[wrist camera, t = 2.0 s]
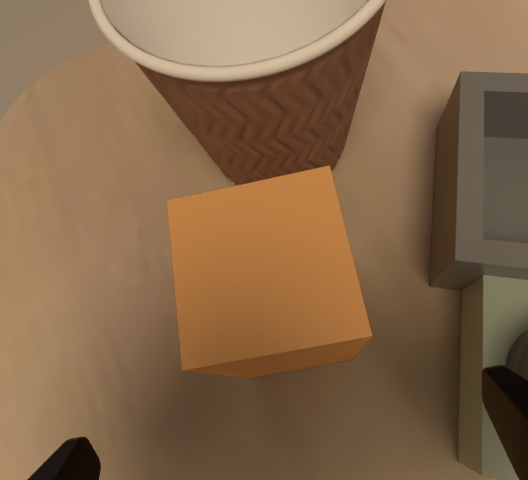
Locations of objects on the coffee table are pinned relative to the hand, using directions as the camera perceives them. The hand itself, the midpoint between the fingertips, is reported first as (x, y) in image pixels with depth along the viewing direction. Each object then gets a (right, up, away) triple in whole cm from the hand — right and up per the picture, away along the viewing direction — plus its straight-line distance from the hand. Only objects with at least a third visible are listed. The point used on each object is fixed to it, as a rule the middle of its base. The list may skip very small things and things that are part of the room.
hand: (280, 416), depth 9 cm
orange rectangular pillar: (+1, 0, +12) cm, 12 cm away
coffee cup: (+1, +9, +15) cm, 18 cm away
